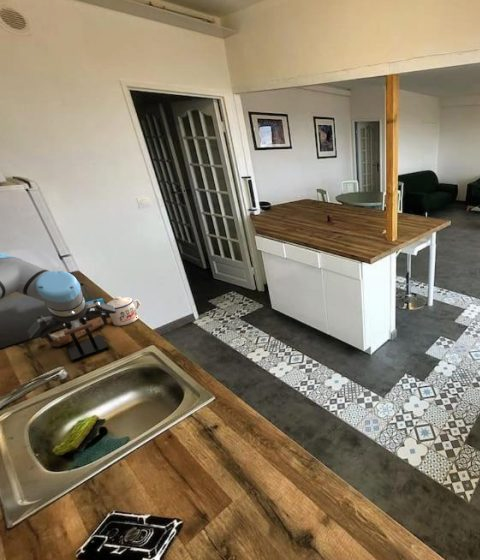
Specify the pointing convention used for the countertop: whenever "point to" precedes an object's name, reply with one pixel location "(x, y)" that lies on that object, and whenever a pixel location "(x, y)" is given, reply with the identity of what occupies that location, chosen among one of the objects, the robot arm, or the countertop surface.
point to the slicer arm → (77, 327)
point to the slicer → (85, 344)
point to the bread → (63, 339)
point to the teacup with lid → (124, 310)
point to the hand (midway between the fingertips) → (78, 329)
